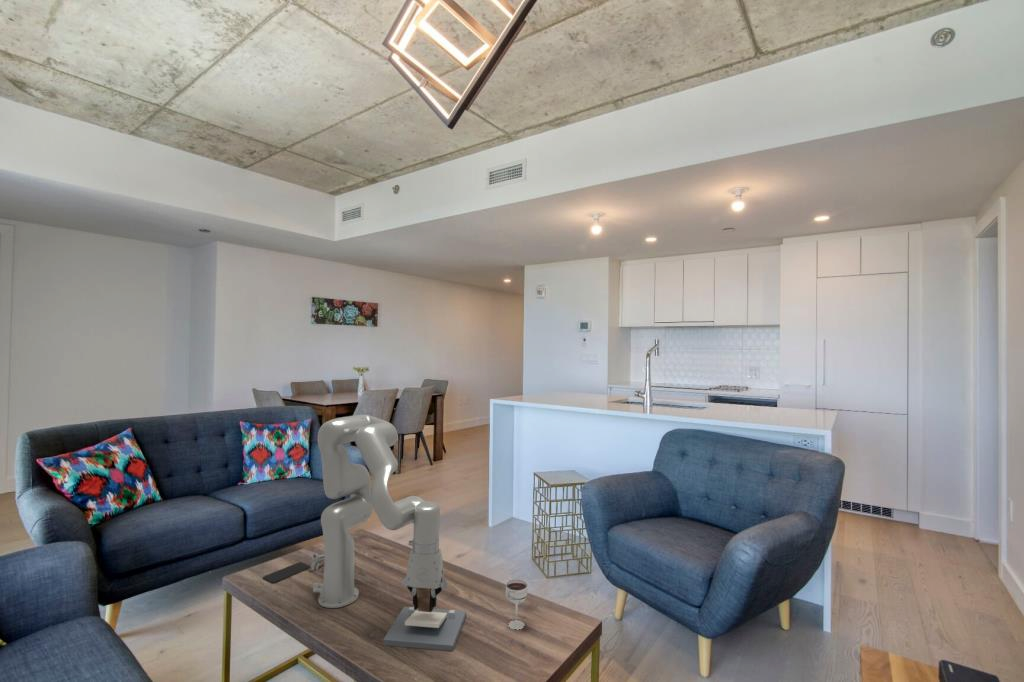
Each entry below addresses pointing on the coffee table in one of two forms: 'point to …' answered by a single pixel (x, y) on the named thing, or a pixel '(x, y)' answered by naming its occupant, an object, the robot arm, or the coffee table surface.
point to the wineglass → (516, 598)
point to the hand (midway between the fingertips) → (424, 607)
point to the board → (426, 631)
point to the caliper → (317, 560)
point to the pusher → (423, 599)
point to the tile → (426, 619)
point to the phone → (286, 572)
